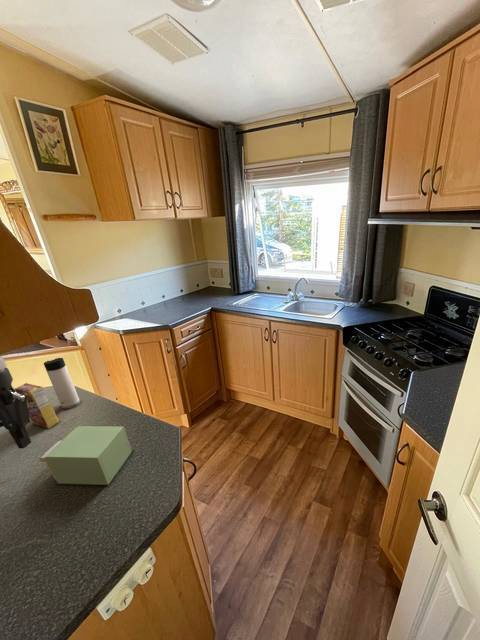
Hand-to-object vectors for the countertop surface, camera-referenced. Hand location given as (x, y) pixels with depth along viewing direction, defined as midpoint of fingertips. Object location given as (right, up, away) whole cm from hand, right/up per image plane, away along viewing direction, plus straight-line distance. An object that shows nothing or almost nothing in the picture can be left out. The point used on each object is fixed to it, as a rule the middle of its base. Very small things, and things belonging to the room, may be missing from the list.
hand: (25, 445), depth 83 cm
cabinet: (+20, -7, +1) cm, 21 cm away
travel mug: (-10, +6, +33) cm, 35 cm away
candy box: (-11, +1, +23) cm, 25 cm away
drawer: (+16, -6, +1) cm, 17 cm away
